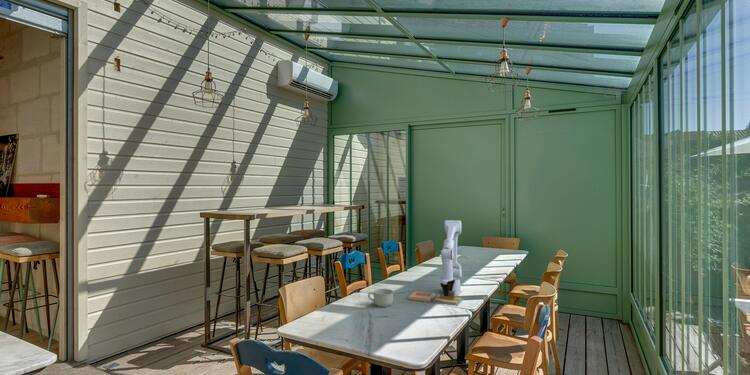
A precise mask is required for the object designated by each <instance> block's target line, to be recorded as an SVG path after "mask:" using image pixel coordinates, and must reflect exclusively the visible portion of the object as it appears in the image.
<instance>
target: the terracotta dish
mask: <svg viewBox="0 0 750 375" xmlns="http://www.w3.org/2000/svg"><path fill="white" fill-rule="evenodd" d="M407 297H408V301H414V302H415V301H416V302H423V303H424V302H425V303H430V300H431V301H433V300H434V299H435V298H436V293H434V292H422V291H414V292H413V293H411V294H410V295H409V296H407Z"/></svg>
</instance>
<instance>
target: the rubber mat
mask: <svg viewBox="0 0 750 375" xmlns="http://www.w3.org/2000/svg"><path fill="white" fill-rule="evenodd" d="M463 301H464V298H461V299H460V301H459V302H458V303H457V304H449V303H439V302H433V301H432V304H438V305H445V304H446V305H447V306H455V305H456V307H457V306H459V305H460V304H461V303H462V302H463Z"/></svg>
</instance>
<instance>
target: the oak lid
mask: <svg viewBox="0 0 750 375" xmlns="http://www.w3.org/2000/svg"><path fill="white" fill-rule="evenodd" d="M461 298H462V296H458V295H455V291H449V295H448V296H444V293H443V289H441V290H440V291H439V295H437V296H435V297H434V298H433V299H432V302H439V303H449V304H457V303H458V302H459V301H460V299H461Z"/></svg>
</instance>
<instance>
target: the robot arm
mask: <svg viewBox="0 0 750 375" xmlns="http://www.w3.org/2000/svg"><path fill="white" fill-rule="evenodd" d="M443 227H444V232H445V233H446V234H445V235H446V238H445V239H444V241H443V247H442V249H441V251H440V258H441V264H442V265H441V266H442V270H441V271H442V277H440V280H442V282H441V283H440V284H439V285H440V286H441V288H442V289H441V290H443V293H444V296H448V295H449V291H455V296H460V294H461V293H463V291H462V290H461V280H460V279H461V278H462V275H463V270H462V265H461V264H460V263H459V262H458V239H459V235H461V234H462V221H461V220H460V219H459V220H455V219H454V220H451V219H449V220H447V219H445V220H444V223H443Z"/></svg>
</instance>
